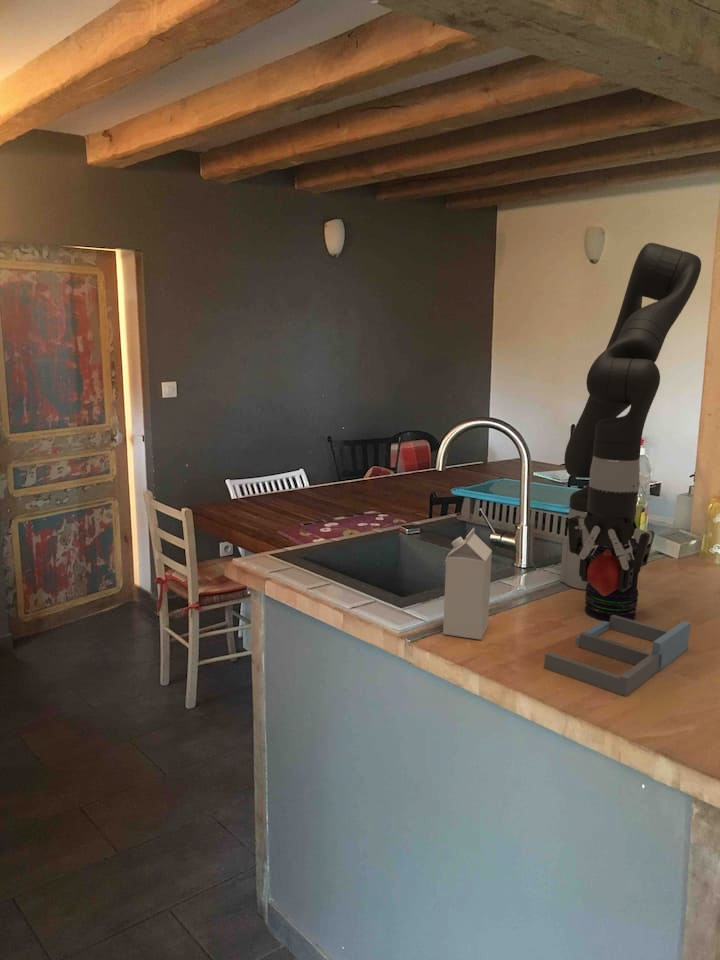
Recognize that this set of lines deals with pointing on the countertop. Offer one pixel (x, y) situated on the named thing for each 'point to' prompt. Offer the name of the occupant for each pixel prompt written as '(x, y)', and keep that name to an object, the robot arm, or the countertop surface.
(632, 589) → the storage jar
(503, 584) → the countertop surface
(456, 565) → the milk carton
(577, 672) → the channel organiser
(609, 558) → the pomegranate
